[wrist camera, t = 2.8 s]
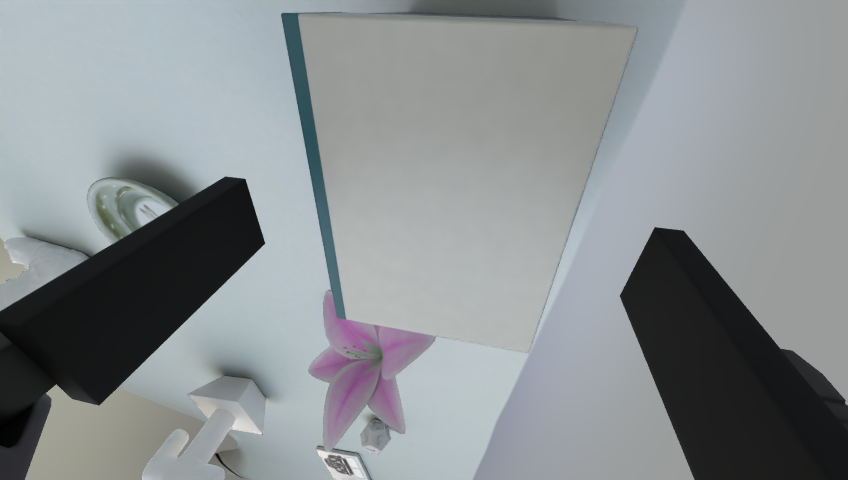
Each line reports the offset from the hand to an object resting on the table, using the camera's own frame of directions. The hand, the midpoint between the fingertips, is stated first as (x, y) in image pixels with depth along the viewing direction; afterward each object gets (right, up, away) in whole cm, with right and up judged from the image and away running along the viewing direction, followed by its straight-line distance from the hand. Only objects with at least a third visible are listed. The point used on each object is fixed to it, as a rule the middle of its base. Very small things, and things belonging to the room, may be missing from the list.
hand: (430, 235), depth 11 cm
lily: (-4, -6, +18) cm, 20 cm away
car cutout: (-12, -37, +42) cm, 57 cm away
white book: (+1, +2, +3) cm, 4 cm away
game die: (-6, -23, +30) cm, 39 cm away
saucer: (-22, +2, +17) cm, 28 cm away
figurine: (-24, -19, +32) cm, 44 cm away
